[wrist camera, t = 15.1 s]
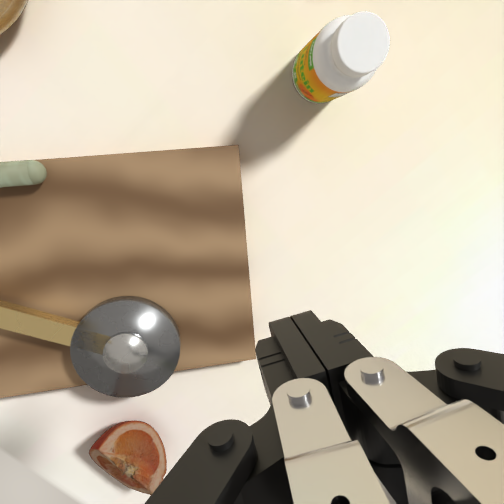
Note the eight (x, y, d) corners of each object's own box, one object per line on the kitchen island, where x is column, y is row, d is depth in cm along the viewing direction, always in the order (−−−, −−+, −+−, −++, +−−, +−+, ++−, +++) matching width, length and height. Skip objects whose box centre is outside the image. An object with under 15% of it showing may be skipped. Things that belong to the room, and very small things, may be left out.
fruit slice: (180, 444, 42) (178, 480, 38) (134, 478, 43) (127, 518, 38) (131, 397, 40) (123, 429, 35) (83, 434, 40) (68, 470, 35)
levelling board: (253, 349, 41) (260, 372, 36) (3, 386, 37) (-22, 416, 33) (235, 145, 35) (242, 143, 31) (-59, 167, 32) (-99, 168, 27)
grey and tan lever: (194, 313, 36) (194, 341, 31) (162, 398, 38) (156, 439, 32) (-27, 246, 32) (-75, 264, 26) (-53, 346, 33) (-104, 384, 28)
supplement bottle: (284, 52, 34) (318, 11, 25) (337, 35, 34) (391, -12, 25) (299, 111, 35) (337, 93, 26) (350, 94, 36) (406, 71, 27)
